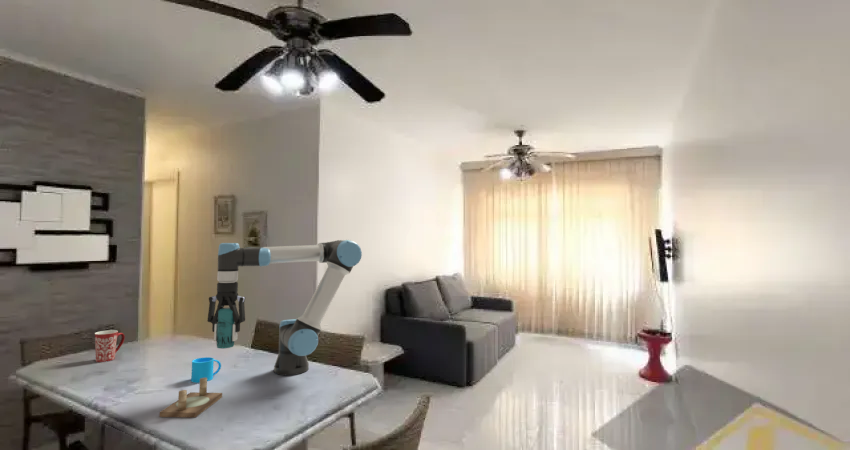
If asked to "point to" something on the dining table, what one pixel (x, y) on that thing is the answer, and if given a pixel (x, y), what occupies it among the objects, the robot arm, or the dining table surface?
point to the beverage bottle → (225, 327)
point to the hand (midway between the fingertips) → (225, 340)
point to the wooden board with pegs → (191, 402)
